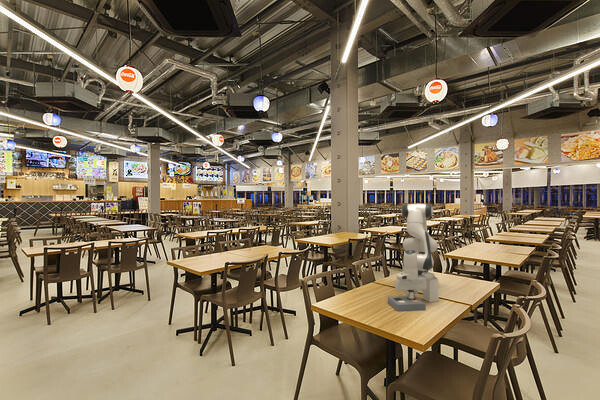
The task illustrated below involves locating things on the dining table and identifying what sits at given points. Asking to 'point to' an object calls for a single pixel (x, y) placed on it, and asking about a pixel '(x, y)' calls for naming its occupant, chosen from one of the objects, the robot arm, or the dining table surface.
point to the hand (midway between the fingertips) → (411, 296)
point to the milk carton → (431, 288)
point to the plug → (411, 294)
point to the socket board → (406, 303)
